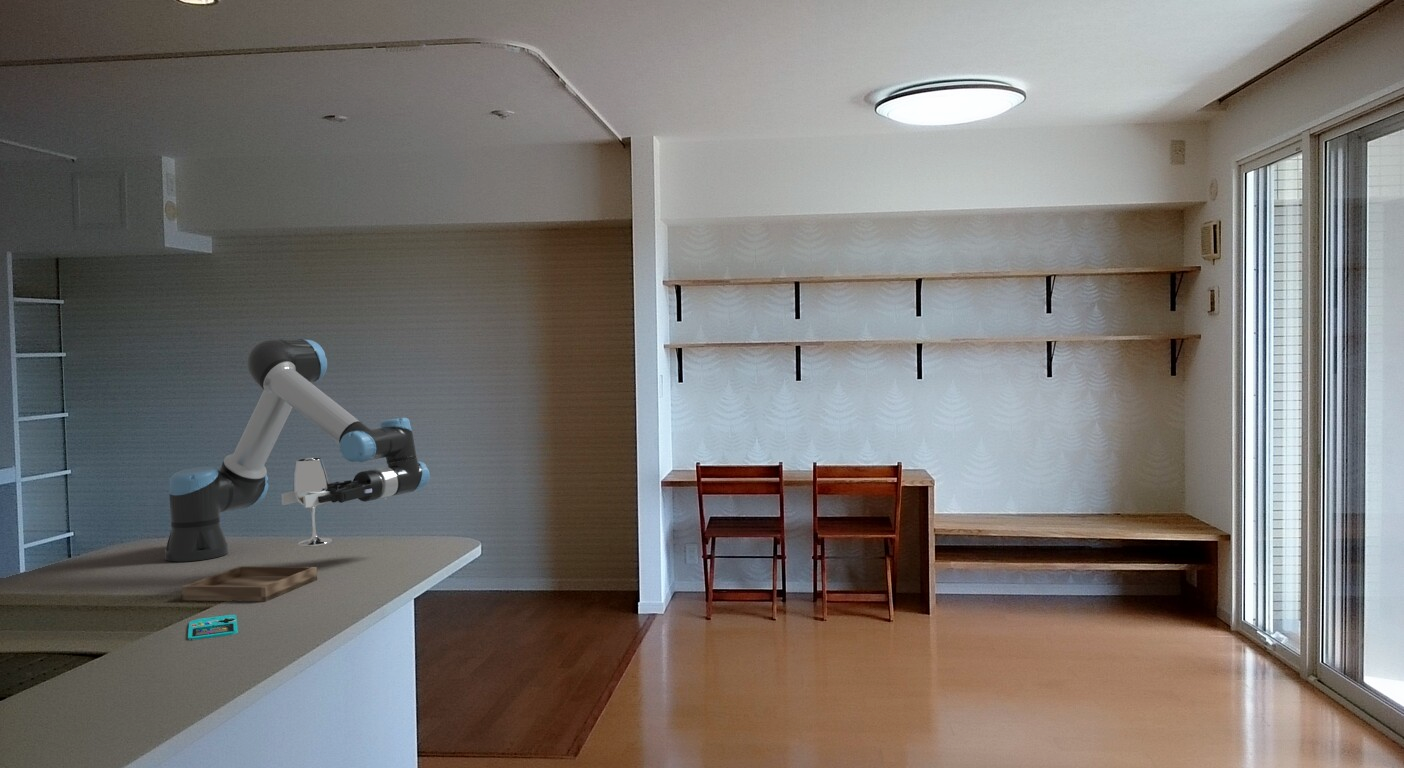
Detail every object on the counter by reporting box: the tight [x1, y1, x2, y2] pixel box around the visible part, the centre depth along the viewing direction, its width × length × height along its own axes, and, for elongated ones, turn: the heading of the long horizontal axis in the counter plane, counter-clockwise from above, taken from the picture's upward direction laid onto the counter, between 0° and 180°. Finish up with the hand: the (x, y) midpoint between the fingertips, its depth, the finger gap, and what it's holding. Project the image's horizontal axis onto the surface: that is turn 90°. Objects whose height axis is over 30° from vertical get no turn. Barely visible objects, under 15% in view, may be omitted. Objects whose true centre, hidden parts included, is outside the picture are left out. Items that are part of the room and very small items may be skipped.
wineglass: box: [292, 457, 333, 547], centre depth 232 cm, size 8×8×20 cm
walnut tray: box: [181, 565, 318, 602], centre depth 222 cm, size 20×20×3 cm
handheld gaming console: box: [187, 614, 239, 640], centre depth 190 cm, size 8×1×15 cm
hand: (293, 500), depth 227 cm, fingers closed on wineglass, 8 cm apart
